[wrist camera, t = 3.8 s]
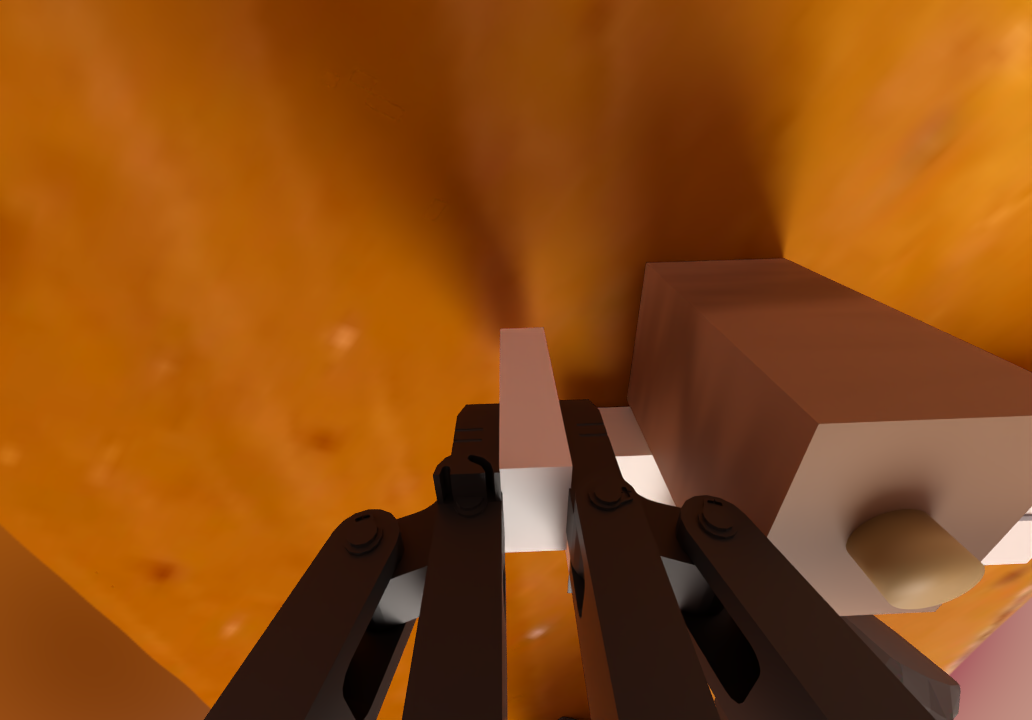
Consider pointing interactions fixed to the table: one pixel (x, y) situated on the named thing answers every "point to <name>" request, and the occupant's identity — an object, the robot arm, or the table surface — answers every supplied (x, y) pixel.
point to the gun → (902, 668)
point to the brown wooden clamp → (833, 427)
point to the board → (643, 474)
